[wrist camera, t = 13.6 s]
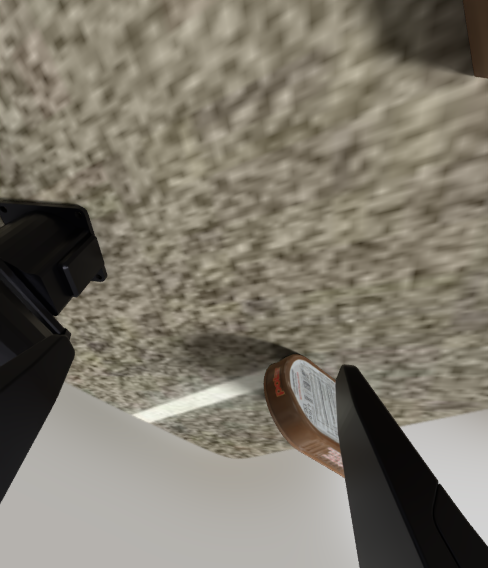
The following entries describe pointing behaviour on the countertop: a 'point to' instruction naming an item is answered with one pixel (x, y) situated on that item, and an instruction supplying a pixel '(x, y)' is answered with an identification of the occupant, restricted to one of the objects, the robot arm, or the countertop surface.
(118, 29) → the countertop surface
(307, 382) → the tin
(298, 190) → the countertop surface
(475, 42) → the walnut socket
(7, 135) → the countertop surface
